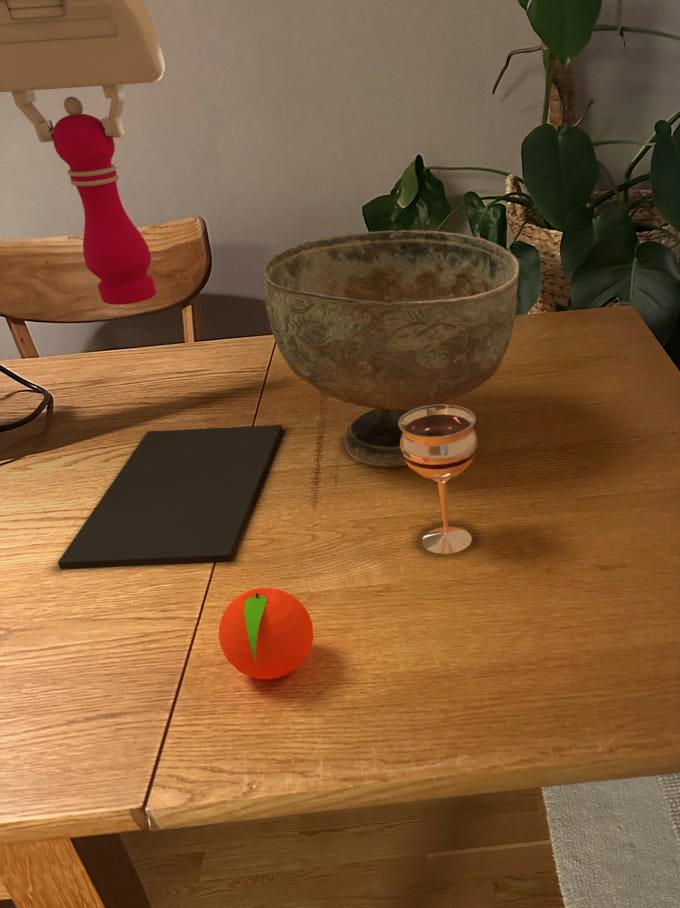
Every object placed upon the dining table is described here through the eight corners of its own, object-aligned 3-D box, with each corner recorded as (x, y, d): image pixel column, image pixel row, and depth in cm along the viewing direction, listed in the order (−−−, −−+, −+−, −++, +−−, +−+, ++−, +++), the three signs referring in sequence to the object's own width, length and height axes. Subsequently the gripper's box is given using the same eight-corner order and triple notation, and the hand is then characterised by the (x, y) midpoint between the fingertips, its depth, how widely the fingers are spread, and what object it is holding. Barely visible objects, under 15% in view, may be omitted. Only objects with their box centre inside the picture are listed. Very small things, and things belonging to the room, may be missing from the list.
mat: (60, 569, 78) (57, 562, 77) (149, 437, 99) (147, 431, 99) (230, 562, 77) (229, 554, 77) (283, 430, 99) (281, 424, 99)
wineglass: (476, 517, 81) (469, 400, 74) (488, 555, 76) (483, 432, 69) (407, 526, 81) (393, 408, 73) (415, 565, 76) (401, 442, 68)
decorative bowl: (275, 408, 103) (244, 234, 90) (473, 379, 109) (470, 211, 96) (311, 518, 84) (277, 317, 71) (548, 475, 90) (558, 282, 77)
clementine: (316, 703, 62) (298, 628, 57) (221, 712, 62) (196, 637, 57) (323, 636, 68) (308, 564, 64) (237, 644, 68) (216, 571, 63)
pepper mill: (169, 297, 98) (115, 95, 86) (107, 310, 95) (41, 103, 83) (150, 283, 103) (96, 90, 90) (90, 296, 100) (26, 98, 87)
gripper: (-92, -20, 78) (-27, 150, 86) (126, -35, 77) (169, 137, 86) (-59, -21, 83) (-1, 140, 91) (146, -35, 82) (184, 128, 91)
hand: (83, 139), depth 89 cm, fingers closed on pepper mill, 6 cm apart
